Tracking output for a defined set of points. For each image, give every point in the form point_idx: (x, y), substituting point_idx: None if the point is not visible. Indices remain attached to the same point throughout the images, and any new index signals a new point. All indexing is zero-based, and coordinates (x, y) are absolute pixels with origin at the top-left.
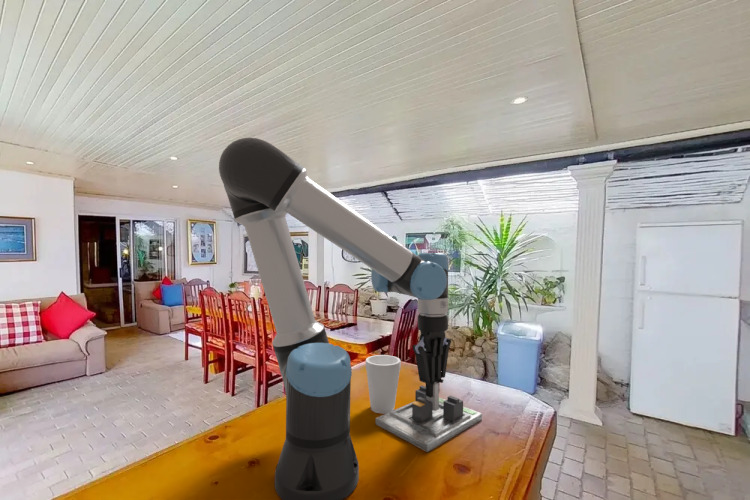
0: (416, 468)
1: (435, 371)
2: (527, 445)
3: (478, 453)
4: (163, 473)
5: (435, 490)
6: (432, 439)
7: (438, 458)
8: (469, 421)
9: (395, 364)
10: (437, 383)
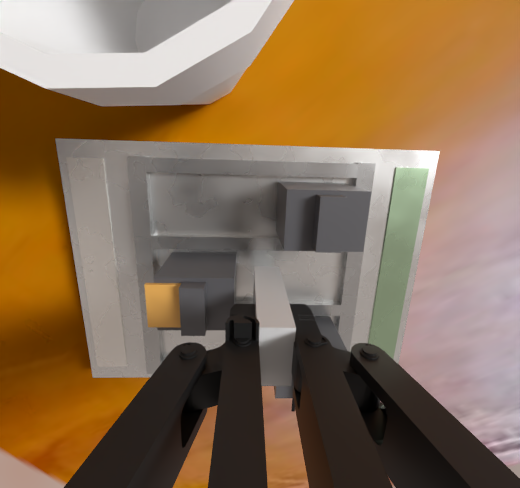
0: (27, 385)
1: (303, 421)
2: None
3: (208, 436)
4: None
5: (12, 448)
6: (129, 369)
7: (107, 393)
8: None
9: (92, 89)
10: (280, 384)
